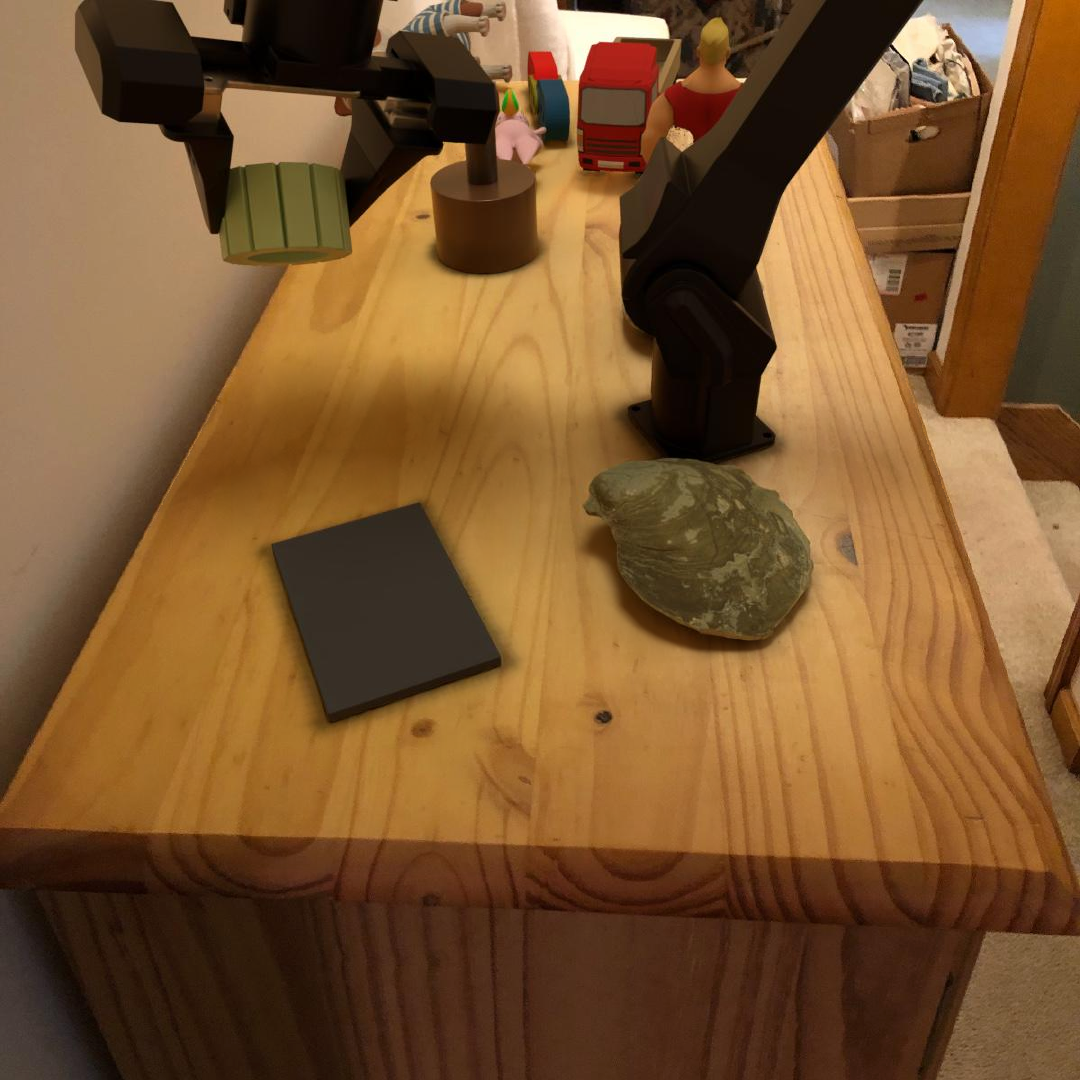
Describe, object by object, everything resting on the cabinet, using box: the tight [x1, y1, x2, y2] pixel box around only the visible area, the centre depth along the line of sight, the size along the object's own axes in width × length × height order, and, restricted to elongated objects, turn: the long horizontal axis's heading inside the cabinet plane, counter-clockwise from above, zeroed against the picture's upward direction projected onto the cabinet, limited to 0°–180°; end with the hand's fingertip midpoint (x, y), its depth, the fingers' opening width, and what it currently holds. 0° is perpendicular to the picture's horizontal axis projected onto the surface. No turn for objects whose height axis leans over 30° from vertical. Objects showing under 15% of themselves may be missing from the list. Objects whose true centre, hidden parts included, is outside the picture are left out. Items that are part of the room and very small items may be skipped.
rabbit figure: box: [495, 88, 546, 166], centre depth 87 cm, size 6×6×15 cm
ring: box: [218, 161, 353, 267], centre depth 52 cm, size 6×6×4 cm
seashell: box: [581, 457, 815, 641], centre depth 49 cm, size 10×7×10 cm
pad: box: [271, 501, 502, 723], centre depth 49 cm, size 12×8×1 cm, turn 23°
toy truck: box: [576, 36, 682, 175], centre depth 87 cm, size 7×21×10 cm, turn 167°
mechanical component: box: [526, 50, 571, 142], centre depth 96 cm, size 17×4×3 cm
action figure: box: [641, 16, 744, 164], centre depth 73 cm, size 10×4×15 cm, turn 80°
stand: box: [429, 128, 539, 274], centre depth 74 cm, size 8×8×9 cm
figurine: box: [333, 0, 513, 117], centre depth 99 cm, size 8×18×15 cm
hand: (276, 229), depth 53 cm, fingers closed on ring, 6 cm apart
